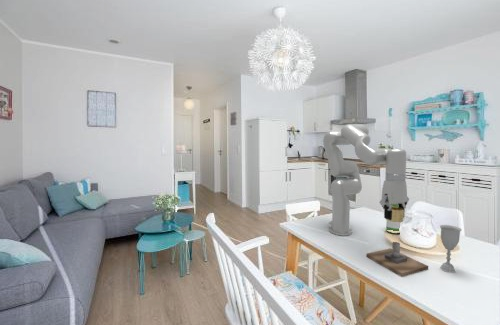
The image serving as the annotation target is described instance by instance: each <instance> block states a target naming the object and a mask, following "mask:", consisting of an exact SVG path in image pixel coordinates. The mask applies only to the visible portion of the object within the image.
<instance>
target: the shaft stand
mask: <svg viewBox="0 0 500 325" xmlns="http://www.w3.org/2000/svg"><path fill="white" fill-rule="evenodd" d="M400 249H401V243H400V242H399V241H398V242H397V241H393V242H392V248H385V249H381V250H377V251H376V250H375V251H372V252H367V253H366V254H365V255H366V258H368V259H370V260H372V261H373V262H375V263H377V264H379V265H380V266H381V267H384V268H386V269H388V270H389V271H391V272H393V273H394V274H396V275H398V276H400V277H407V276H409V275H414V274H417V273H420V272H423V271H427V270H429V266H428V265H426V264H425V263H423V262H421V261H419V260H416V259H414V258H412V257H410V256H408V255H406V254H404V253H401V250H400Z"/></svg>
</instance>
